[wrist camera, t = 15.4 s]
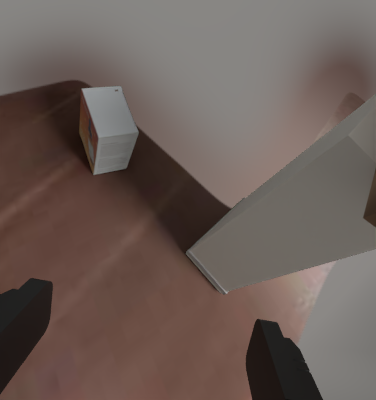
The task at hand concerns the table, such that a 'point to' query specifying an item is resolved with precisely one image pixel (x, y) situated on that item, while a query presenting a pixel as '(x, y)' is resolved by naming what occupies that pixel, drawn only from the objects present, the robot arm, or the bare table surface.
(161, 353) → the table surface
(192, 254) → the pedestal
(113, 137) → the small box
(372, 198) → the mallet
